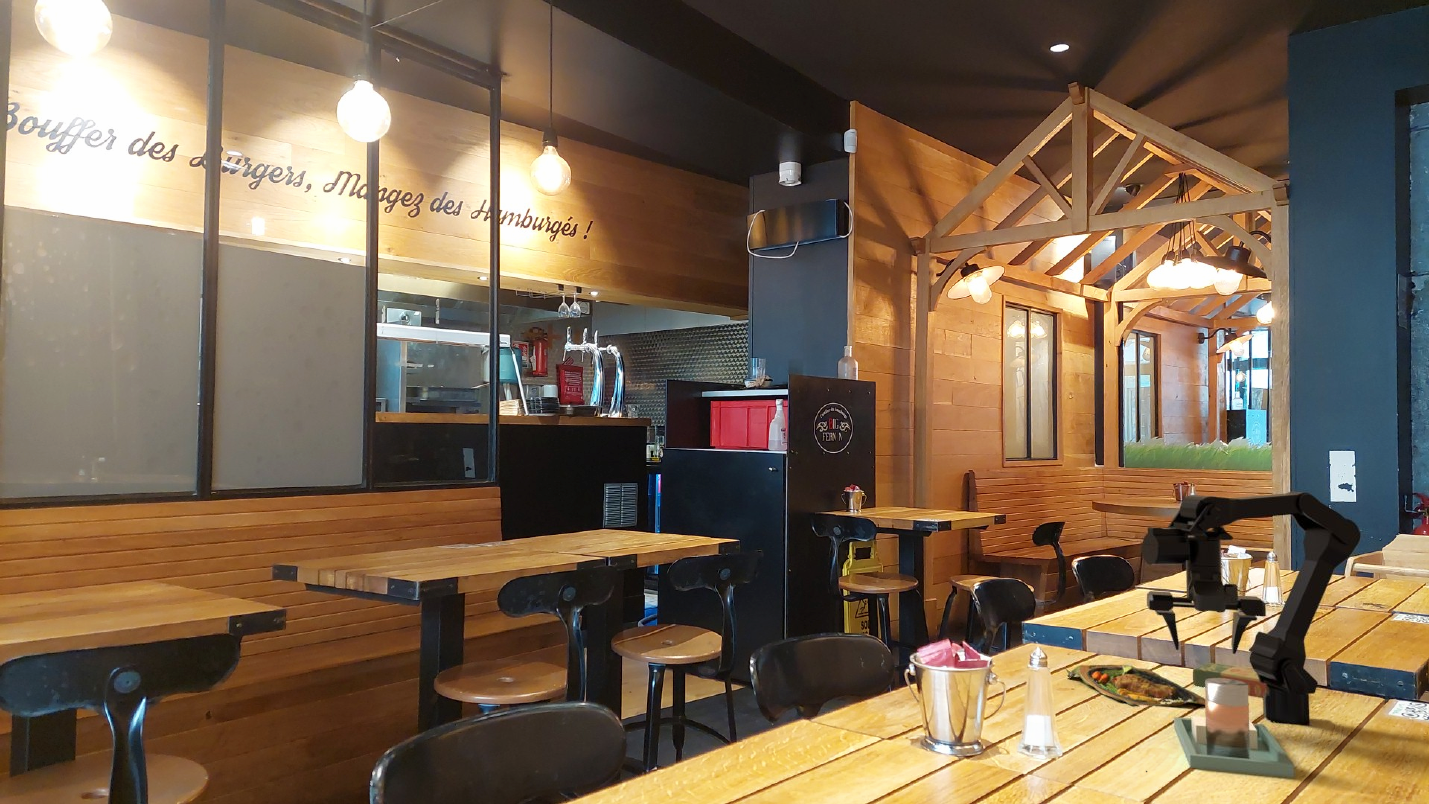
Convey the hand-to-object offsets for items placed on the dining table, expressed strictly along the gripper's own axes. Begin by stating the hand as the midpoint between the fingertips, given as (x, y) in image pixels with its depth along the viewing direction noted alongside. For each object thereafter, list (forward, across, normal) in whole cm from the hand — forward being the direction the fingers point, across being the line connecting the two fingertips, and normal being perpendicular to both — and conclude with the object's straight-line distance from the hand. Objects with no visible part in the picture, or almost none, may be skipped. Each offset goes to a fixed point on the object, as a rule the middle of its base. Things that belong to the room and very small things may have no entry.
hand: (1205, 651), depth 173 cm
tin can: (+12, 0, -22) cm, 25 cm away
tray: (+13, +1, -17) cm, 22 cm away
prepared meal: (+14, -10, +22) cm, 28 cm away
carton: (+13, +11, +30) cm, 35 cm away
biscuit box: (+12, +1, -12) cm, 17 cm away
